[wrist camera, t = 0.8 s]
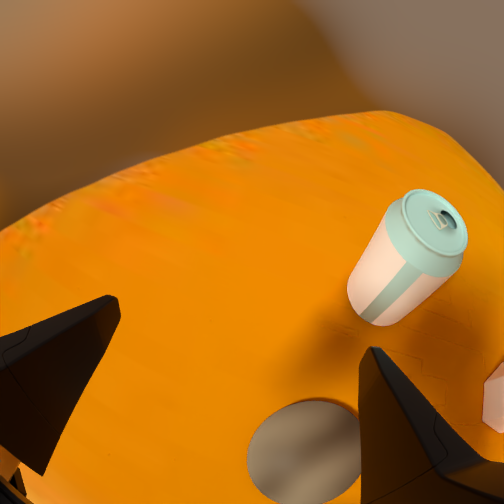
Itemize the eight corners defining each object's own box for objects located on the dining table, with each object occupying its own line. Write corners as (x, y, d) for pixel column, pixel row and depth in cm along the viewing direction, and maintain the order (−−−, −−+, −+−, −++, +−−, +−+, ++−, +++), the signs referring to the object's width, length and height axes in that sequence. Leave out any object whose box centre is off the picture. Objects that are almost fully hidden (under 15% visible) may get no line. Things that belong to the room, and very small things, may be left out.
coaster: (385, 437, 17) (388, 437, 17) (312, 521, 13) (314, 523, 13) (301, 378, 21) (302, 377, 20) (221, 462, 17) (220, 464, 16)
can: (364, 253, 28) (409, 169, 18) (415, 289, 25) (478, 218, 15) (332, 300, 25) (379, 218, 15) (388, 341, 22) (466, 283, 12)
